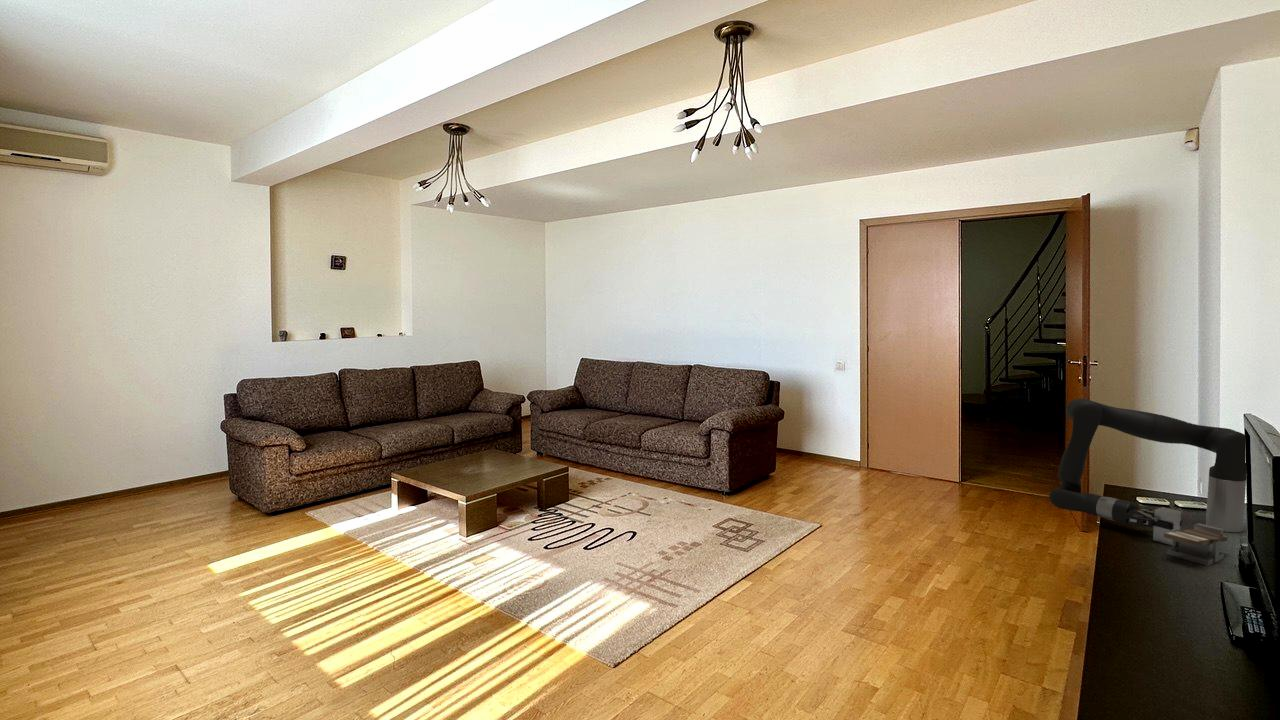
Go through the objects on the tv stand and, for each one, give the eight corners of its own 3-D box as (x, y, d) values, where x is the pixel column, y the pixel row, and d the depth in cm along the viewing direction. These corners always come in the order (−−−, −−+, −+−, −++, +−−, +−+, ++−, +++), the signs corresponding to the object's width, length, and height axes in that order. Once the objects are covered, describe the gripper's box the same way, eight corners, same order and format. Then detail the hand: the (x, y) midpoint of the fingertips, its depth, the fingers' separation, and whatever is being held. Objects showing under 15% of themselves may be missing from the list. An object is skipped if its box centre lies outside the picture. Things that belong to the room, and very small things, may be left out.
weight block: (1160, 537, 208) (1162, 507, 207) (1179, 542, 203) (1181, 511, 202) (1152, 540, 205) (1154, 509, 204) (1171, 545, 201) (1173, 514, 200)
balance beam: (1194, 532, 200) (1195, 522, 200) (1227, 540, 193) (1228, 530, 193) (1163, 537, 190) (1165, 526, 190) (1197, 546, 183) (1198, 535, 183)
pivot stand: (1181, 547, 199) (1182, 527, 198) (1224, 558, 190) (1225, 537, 189) (1165, 553, 194) (1167, 533, 194) (1208, 566, 185) (1210, 544, 185)
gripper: (1105, 502, 212) (1167, 517, 197) (1127, 495, 219) (1188, 509, 204) (1104, 524, 213) (1165, 541, 198) (1126, 517, 220) (1187, 532, 205)
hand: (1177, 525), depth 201 cm, fingers closed on weight block, 5 cm apart
